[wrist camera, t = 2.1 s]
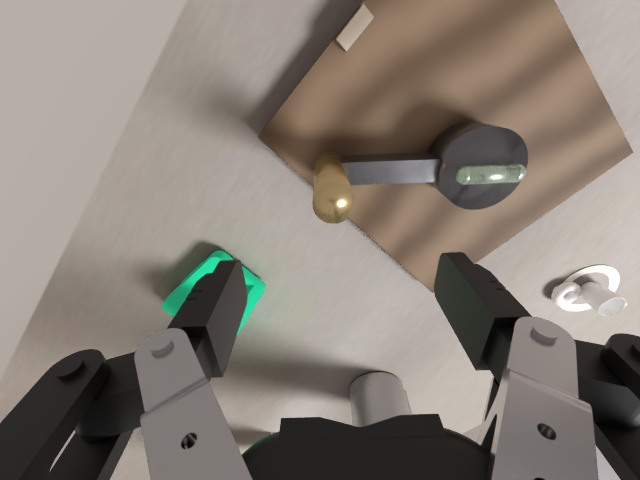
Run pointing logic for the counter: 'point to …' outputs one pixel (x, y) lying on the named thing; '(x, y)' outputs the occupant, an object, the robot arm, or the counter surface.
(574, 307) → the teacup and saucer
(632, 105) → the counter surface
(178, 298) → the camera mount
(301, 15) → the counter surface
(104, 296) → the counter surface
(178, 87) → the counter surface
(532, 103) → the walnut base
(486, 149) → the crank handle
